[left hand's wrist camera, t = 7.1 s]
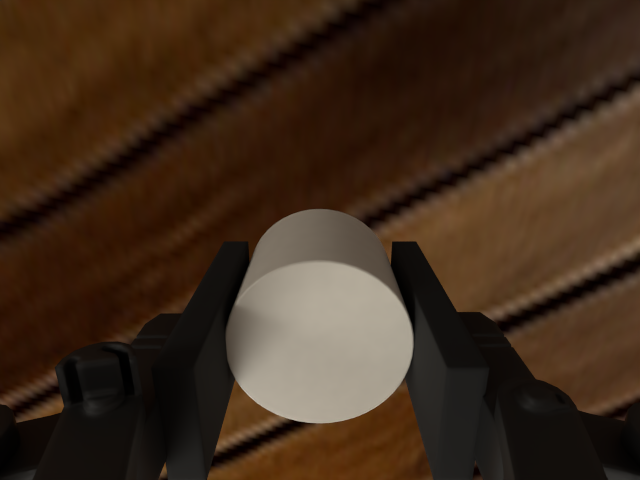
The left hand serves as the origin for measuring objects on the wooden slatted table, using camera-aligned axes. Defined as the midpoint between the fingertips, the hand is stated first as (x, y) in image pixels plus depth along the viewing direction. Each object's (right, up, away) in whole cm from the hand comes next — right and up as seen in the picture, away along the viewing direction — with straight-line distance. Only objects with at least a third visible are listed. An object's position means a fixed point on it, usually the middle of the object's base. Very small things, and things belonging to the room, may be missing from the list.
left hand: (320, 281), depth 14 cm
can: (0, 0, 0) cm, 0 cm away
